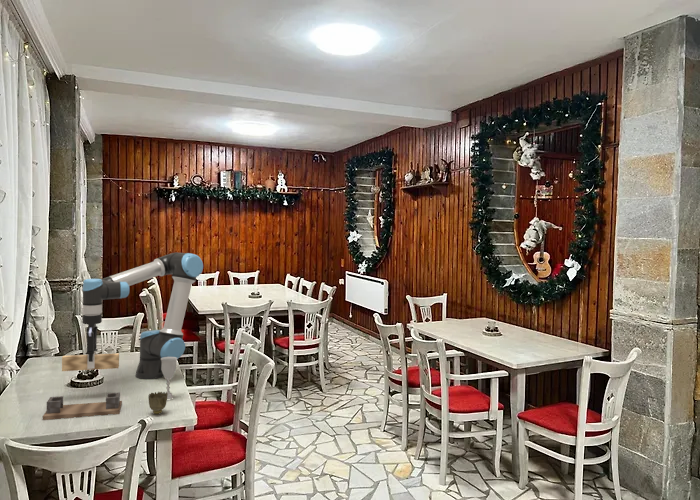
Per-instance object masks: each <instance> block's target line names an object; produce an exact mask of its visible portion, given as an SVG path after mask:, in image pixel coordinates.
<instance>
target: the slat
mask: <svg viewBox="0 0 700 500" xmlns="http://www.w3.org/2000/svg"><path fill="white" fill-rule="evenodd" d="M87 357H88V354H73V355H71V354H70V355H63V356H62V357H61V372H73V371H75V372H76V371H77V372H78V371H88V370H89V371H91V370H92V371H94V370H110V369H111V370H113V369H114V370H115V369H119V367H120V353H116V352H114V353H96V354H95V368H94V369H87Z"/></svg>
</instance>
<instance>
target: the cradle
mask: <svg viewBox="0 0 700 500" xmlns="http://www.w3.org/2000/svg"><path fill="white" fill-rule="evenodd" d="M120 398H121V392H120V391H119V392H108V393H107V396H106V398H105V401H101V402H100V401H99V402H87V403H74V404H73V403H72V404H71V403H70V404H64V395H61V396H60V395H59V396H50V397H49V399H47V401H46V411H45V412H44V414H43V415H42V421H47V420H48V421H49V420H61V418H64V419H73V418H74V417H76V418H83V417H82V416H88V417H95V416H94V415H101V416H109V415H108V414H113V415H120V413H121V409H122V405H123V401H122V400H121V399H120Z"/></svg>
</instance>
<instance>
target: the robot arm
mask: <svg viewBox="0 0 700 500" xmlns="http://www.w3.org/2000/svg"><path fill="white" fill-rule="evenodd" d="M203 269H204V263H203V261H202V258H201V257H200V256H199V255H197V254H194V253H190V252H177V251H176V252H171V253H169V254H166V255H162V256H160V257H158V258H155V259H153V261H151V262H149V263H145V264H142V265H140V266H136V267H134V268H131V269H128V270H125V271H121V272H119V273H118V272H117V273H116V274H113V275H112V274H111V275H109V276H107V277H104V278H86V279H84V280H83V282H82V306H81V308H80V309H82V314H83V315H82V319H81V320H82V321H81V322H82V324H84V325H87V327H86V328H85V329H86V352H85V355H88V357H87V369H94V368H95V354H97V352H98V350H99V349H98V348H97V341H98V340H97V339H98V338H97V335H98V328H99V327H98V326H97V325H98V324H101V323H103V322H102V321H103V319H102V318H103V315H102V313H103V301H104V300H115V299H116V300H117V299H125V298H127V297H128V296H129V295H130V286H133V285H135V284H136V285H137V284H139V283H141V282H144V281H146V280H150V279H153V278H156V277H158V276H159V277H164V276H167V275H171V278H172V279H173V285H172V288H171V289H172V291H171V294H170V298H169V302H168V306H167V311H166V316H165V321H164V324H163V328H162V329H154V330H146V331H145V330H144V331H142V332H141V333H140V336H139V362H138V364H137V367H136V369H135V378H137V379H142V380H152V379H153V380H154V379H160V378H163V377H164V375H163V373H162V370H161V367H162V361H161V358H163V357H176V358H177V360H179V358H181V357H182V356H183V354H185V350H186V343H185V340H183V338H184V332H183V331H182V328H183V324H184V318H185V316H186V310H187V306H188V302H189V298H190V293H191V288H192V286H193V285H192V284H194V283H195V282H196V281H197V277H199V276H200V275H201V274H202V273H203ZM164 378H165V377H164Z"/></svg>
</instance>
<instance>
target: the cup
mask: <svg viewBox="0 0 700 500" xmlns="http://www.w3.org/2000/svg"><path fill="white" fill-rule="evenodd" d="M167 396H168V394H167V391H158V392H156V391H155V392H154V393H153V392H151V393H149V394H148V405H149V408H150V410H151V411H152V413H154V414H153V415H160V414H159V413H161V414H163V410H164V409H165V408H166V406H167V402H168V400H167Z"/></svg>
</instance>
